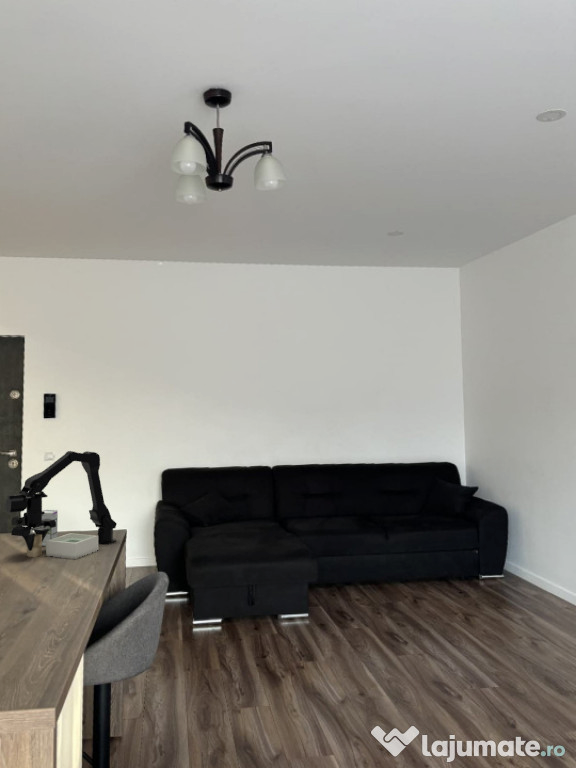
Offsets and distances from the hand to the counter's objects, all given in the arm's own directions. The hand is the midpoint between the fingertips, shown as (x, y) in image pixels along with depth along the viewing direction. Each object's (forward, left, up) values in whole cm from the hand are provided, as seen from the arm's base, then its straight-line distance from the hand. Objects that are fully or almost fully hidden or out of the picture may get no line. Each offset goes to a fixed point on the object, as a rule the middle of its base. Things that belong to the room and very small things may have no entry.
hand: (34, 549), depth 249 cm
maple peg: (0, 0, -2) cm, 2 cm away
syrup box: (-16, -7, -3) cm, 18 cm away
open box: (-8, +12, -2) cm, 15 cm away
